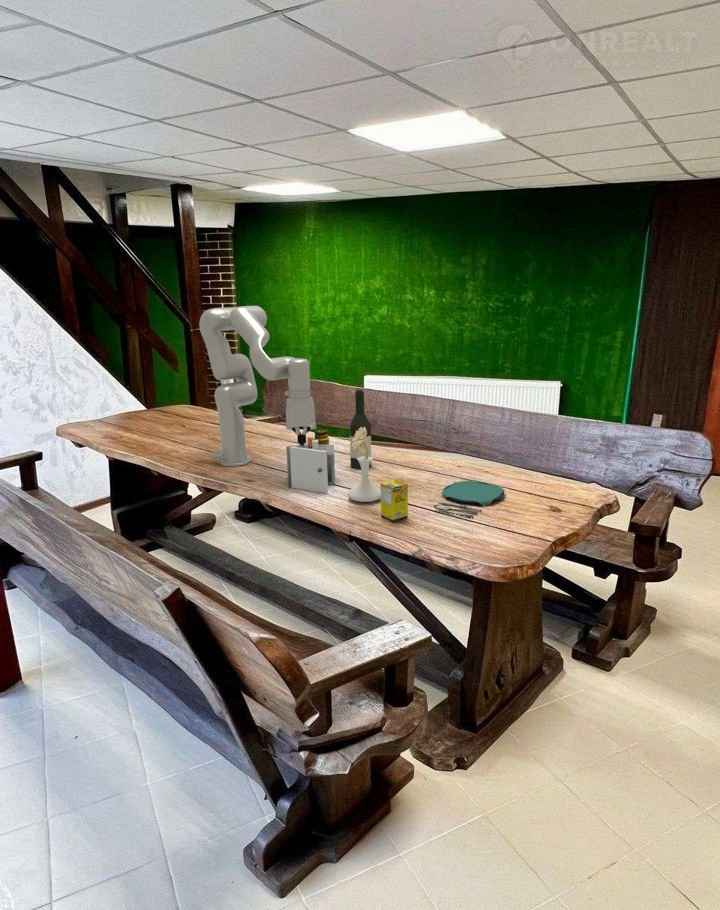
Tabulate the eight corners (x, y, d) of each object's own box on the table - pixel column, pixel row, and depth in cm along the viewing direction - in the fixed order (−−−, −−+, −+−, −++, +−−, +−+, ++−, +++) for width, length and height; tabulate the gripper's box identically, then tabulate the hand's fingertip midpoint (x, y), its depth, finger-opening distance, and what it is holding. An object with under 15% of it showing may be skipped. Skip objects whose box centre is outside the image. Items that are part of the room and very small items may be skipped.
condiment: (333, 460, 243) (332, 431, 240) (315, 464, 238) (314, 434, 235) (324, 456, 249) (323, 428, 245) (306, 460, 244) (305, 431, 241)
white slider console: (289, 485, 213) (287, 452, 210) (291, 477, 222) (289, 445, 219) (334, 484, 213) (333, 451, 210) (334, 476, 223) (334, 444, 220)
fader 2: (312, 449, 212) (312, 441, 212) (312, 447, 215) (312, 439, 214) (318, 449, 213) (317, 441, 212) (318, 447, 215) (318, 439, 214)
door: (286, 487, 211) (284, 447, 207) (289, 485, 213) (287, 446, 209) (324, 494, 204) (323, 452, 200) (328, 492, 206) (326, 451, 202)
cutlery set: (512, 492, 203) (513, 485, 202) (477, 523, 179) (477, 515, 178) (457, 483, 214) (458, 477, 213) (418, 511, 190) (417, 504, 189)
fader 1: (307, 446, 216) (307, 438, 216) (308, 444, 219) (307, 437, 218) (313, 446, 216) (313, 438, 216) (313, 444, 219) (313, 437, 218)
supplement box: (408, 518, 182) (408, 483, 179) (392, 522, 179) (392, 487, 176) (395, 512, 187) (395, 478, 184) (380, 516, 183) (380, 482, 180)
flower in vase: (348, 493, 204) (347, 420, 197) (382, 493, 204) (382, 420, 197) (346, 507, 192) (344, 430, 185) (382, 507, 191) (382, 429, 185)
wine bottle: (356, 470, 229) (354, 391, 221) (346, 465, 236) (344, 388, 228) (375, 467, 233) (374, 389, 224) (365, 462, 240) (364, 386, 232)
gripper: (277, 396, 208) (280, 448, 213) (320, 395, 209) (322, 447, 214) (279, 393, 216) (282, 443, 221) (321, 392, 216) (323, 442, 221)
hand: (302, 445), depth 217 cm, fingers closed
